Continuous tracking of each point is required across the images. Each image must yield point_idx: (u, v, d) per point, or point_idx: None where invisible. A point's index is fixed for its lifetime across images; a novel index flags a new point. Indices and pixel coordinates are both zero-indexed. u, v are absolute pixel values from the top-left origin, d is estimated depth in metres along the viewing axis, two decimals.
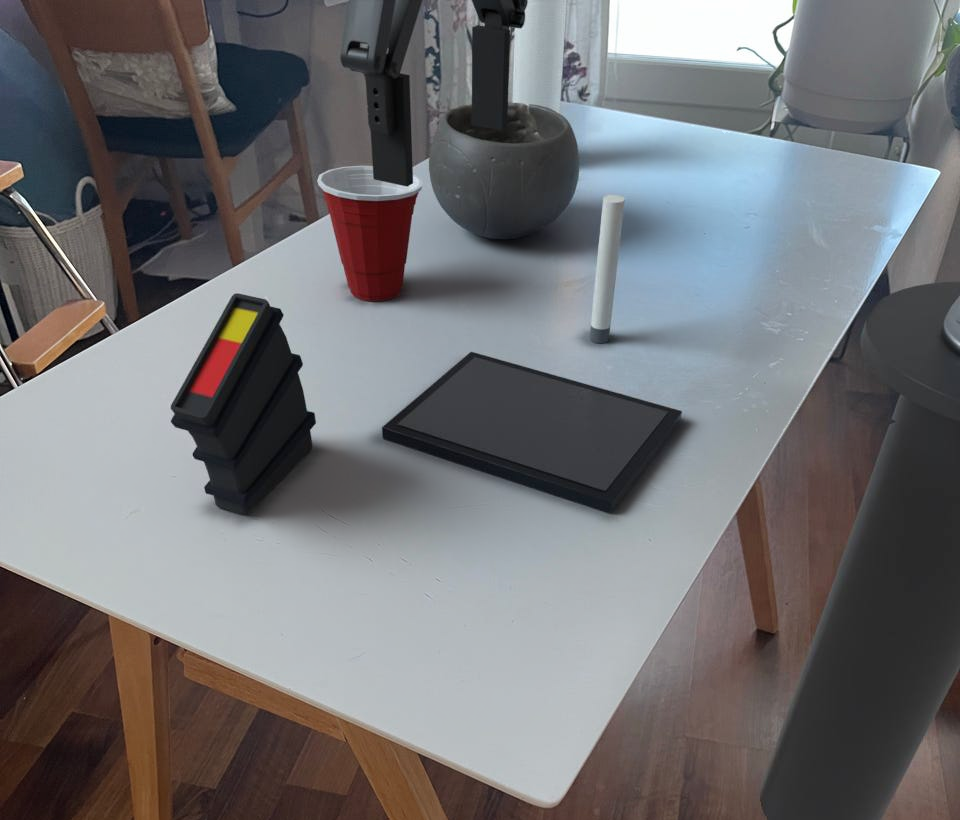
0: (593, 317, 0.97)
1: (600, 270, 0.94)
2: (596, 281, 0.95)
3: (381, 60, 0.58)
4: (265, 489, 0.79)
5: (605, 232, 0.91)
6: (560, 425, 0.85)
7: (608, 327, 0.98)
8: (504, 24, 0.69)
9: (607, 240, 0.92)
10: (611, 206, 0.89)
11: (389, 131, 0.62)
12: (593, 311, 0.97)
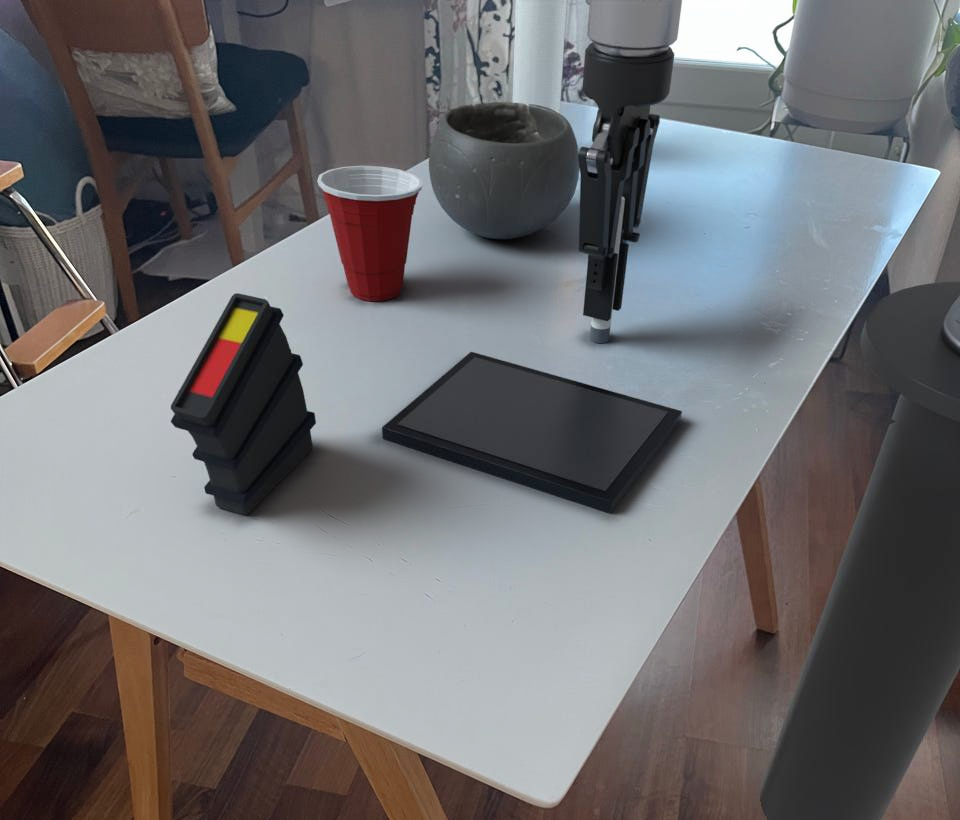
0: None
1: None
2: None
3: (606, 250, 0.89)
4: (265, 489, 0.79)
5: None
6: (560, 425, 0.85)
7: (608, 327, 0.98)
8: (624, 236, 0.93)
9: None
10: None
11: (601, 288, 0.93)
12: None
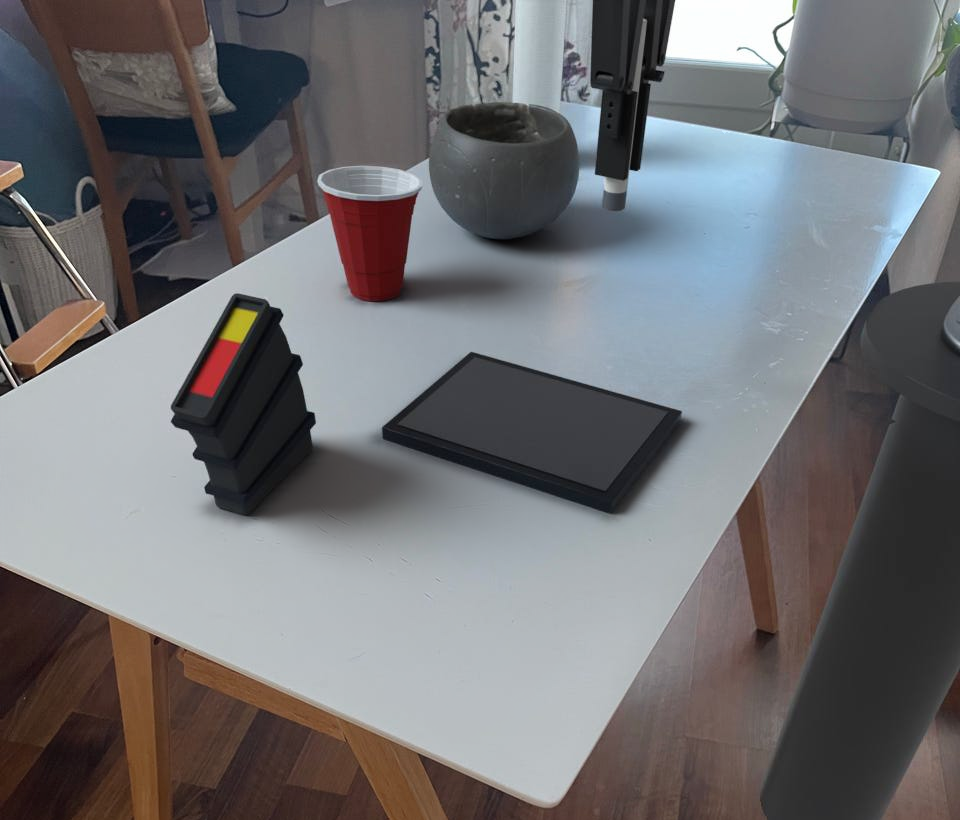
0: (607, 178, 0.82)
1: None
2: None
3: (623, 81, 0.73)
4: (265, 489, 0.79)
5: None
6: (560, 425, 0.85)
7: (625, 191, 0.82)
8: (645, 74, 0.78)
9: None
10: None
11: (617, 136, 0.78)
12: None
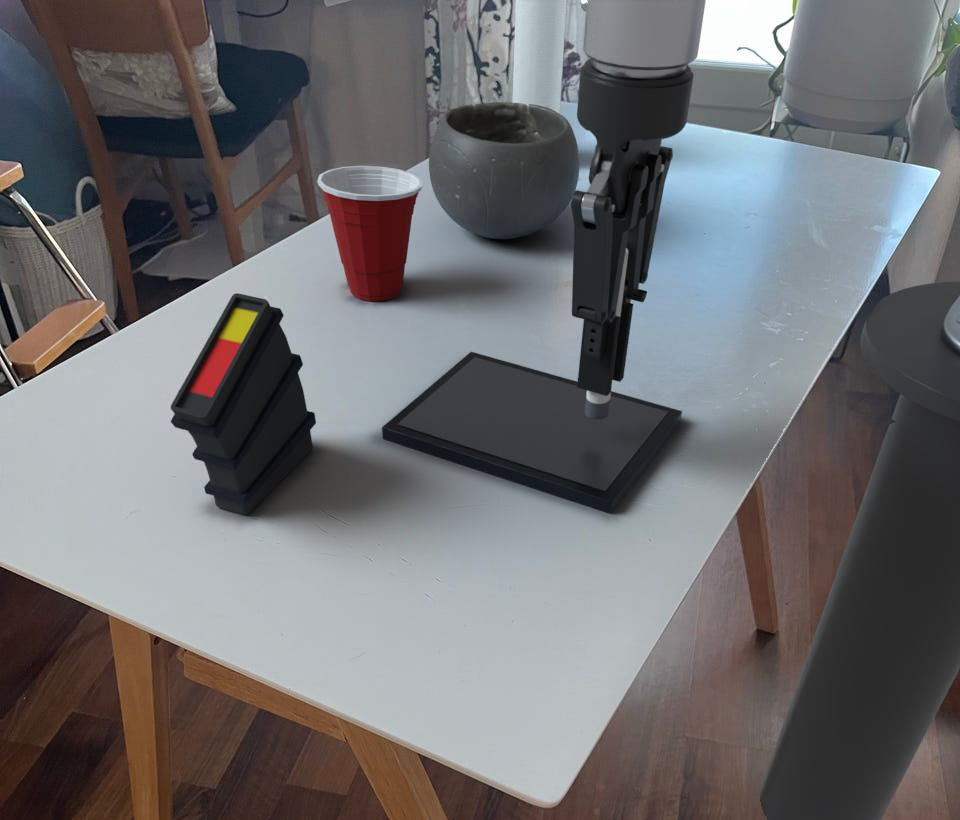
0: None
1: None
2: None
3: (606, 315, 0.72)
4: (265, 489, 0.79)
5: None
6: (560, 425, 0.85)
7: (607, 401, 0.81)
8: (627, 295, 0.76)
9: None
10: None
11: (600, 358, 0.76)
12: None
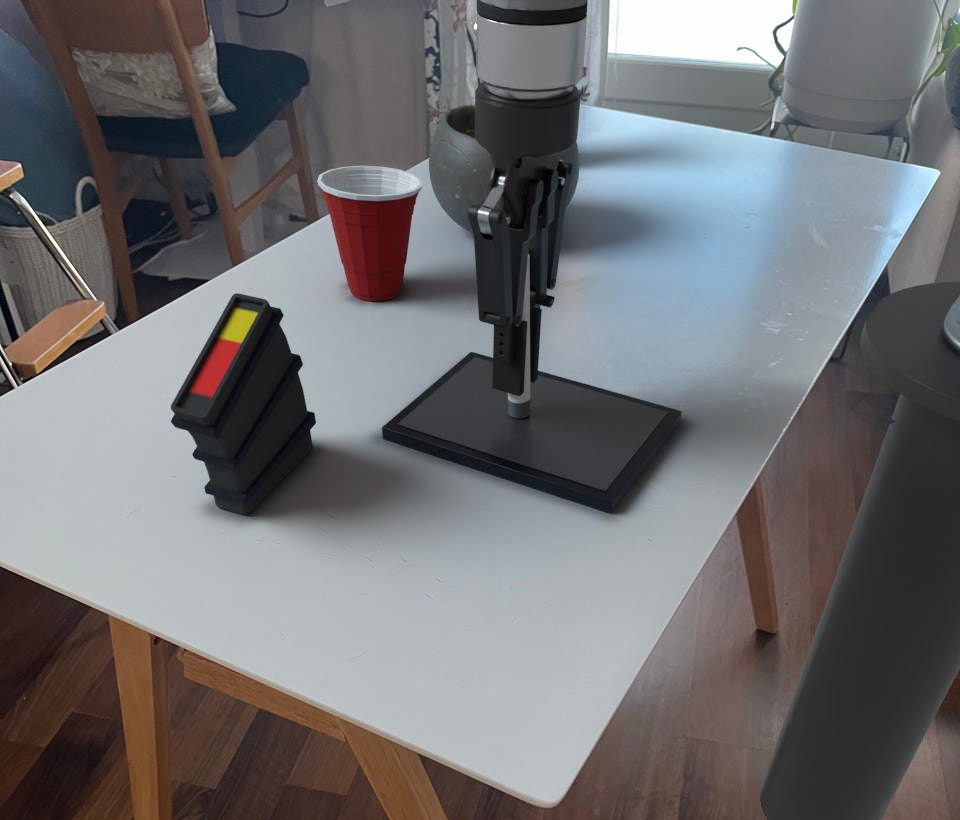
0: None
1: None
2: None
3: (510, 320, 0.76)
4: (265, 489, 0.79)
5: None
6: (560, 425, 0.85)
7: (527, 400, 0.85)
8: (536, 300, 0.80)
9: None
10: None
11: (510, 361, 0.80)
12: None
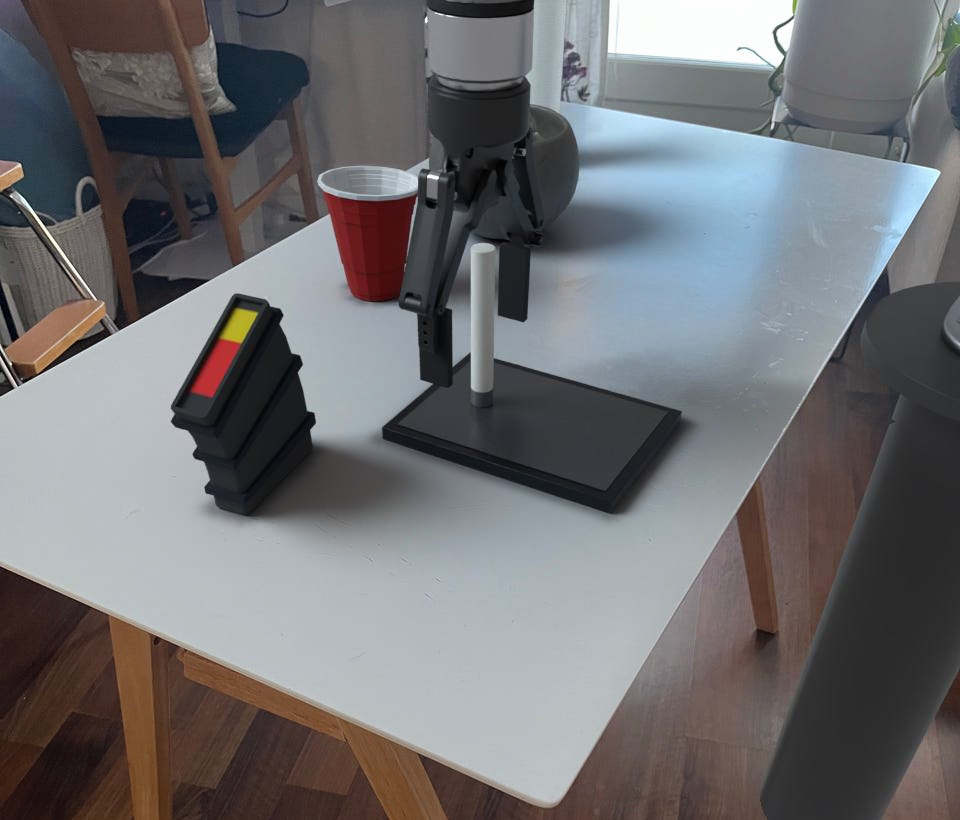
0: (472, 379, 0.86)
1: (474, 327, 0.82)
2: (471, 339, 0.83)
3: (431, 307, 0.72)
4: (265, 489, 0.79)
5: (475, 285, 0.79)
6: (560, 425, 0.85)
7: (490, 390, 0.86)
8: (526, 243, 0.84)
9: (478, 295, 0.80)
10: (479, 256, 0.78)
11: (435, 351, 0.77)
12: (471, 372, 0.85)
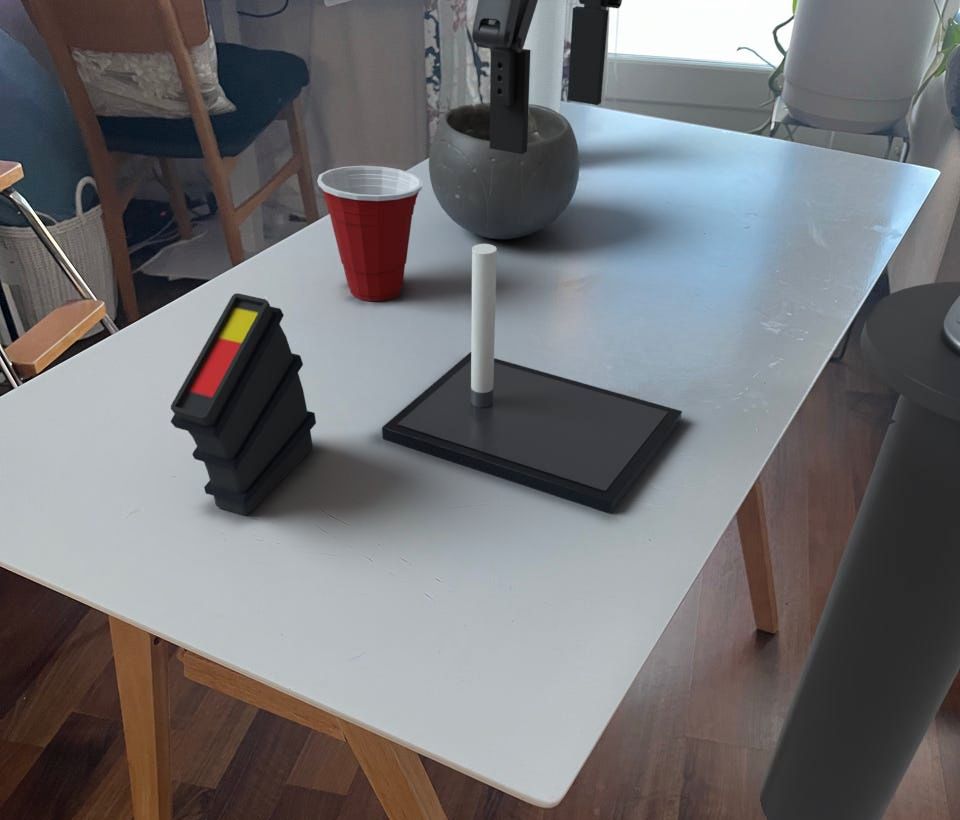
0: (472, 379, 0.86)
1: (475, 328, 0.82)
2: (472, 340, 0.83)
3: (510, 35, 0.63)
4: (265, 489, 0.79)
5: (476, 286, 0.79)
6: (560, 425, 0.85)
7: (490, 390, 0.86)
8: (603, 5, 0.75)
9: (479, 296, 0.80)
10: (480, 258, 0.78)
11: (510, 102, 0.67)
12: (472, 372, 0.85)
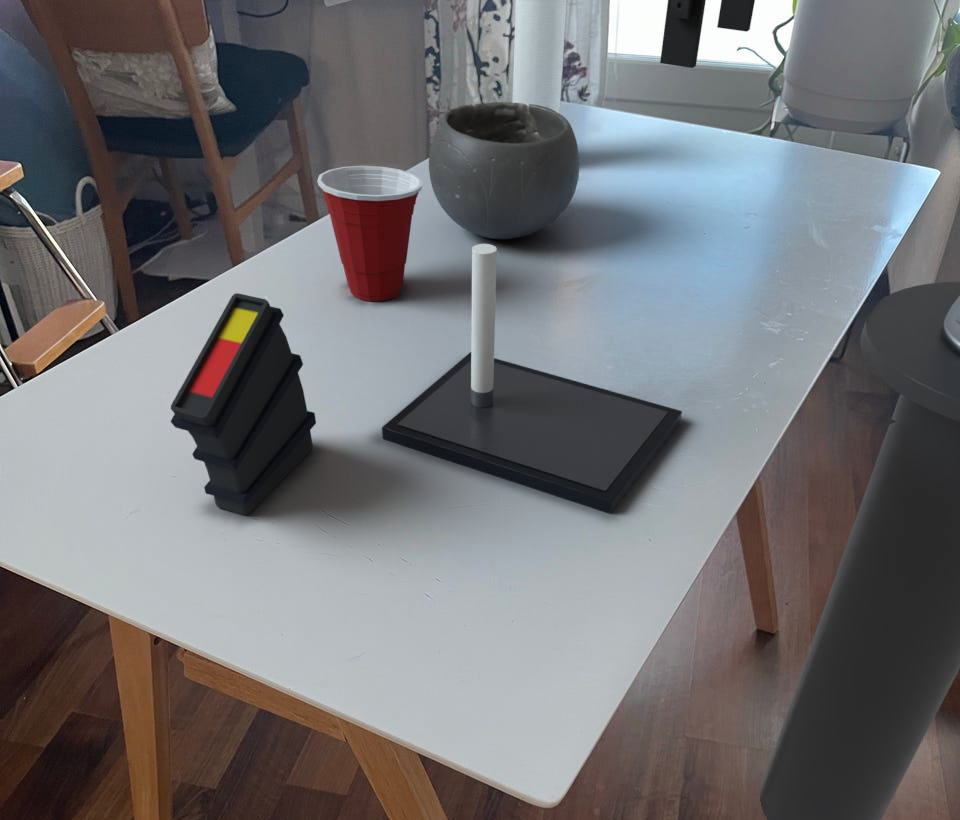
0: (472, 379, 0.86)
1: (475, 328, 0.82)
2: (472, 340, 0.83)
3: None
4: (265, 489, 0.79)
5: (476, 286, 0.79)
6: (560, 425, 0.85)
7: (490, 390, 0.86)
8: None
9: (479, 296, 0.80)
10: (480, 258, 0.78)
11: (688, 16, 0.72)
12: (472, 372, 0.85)
